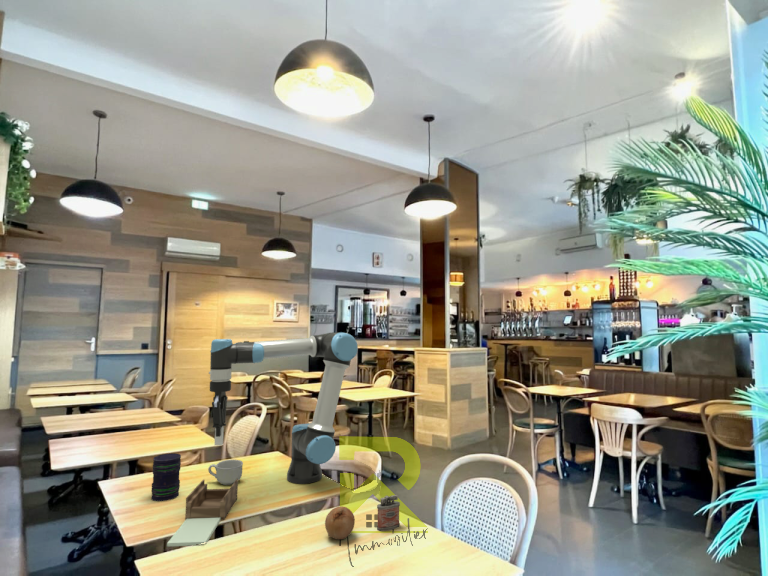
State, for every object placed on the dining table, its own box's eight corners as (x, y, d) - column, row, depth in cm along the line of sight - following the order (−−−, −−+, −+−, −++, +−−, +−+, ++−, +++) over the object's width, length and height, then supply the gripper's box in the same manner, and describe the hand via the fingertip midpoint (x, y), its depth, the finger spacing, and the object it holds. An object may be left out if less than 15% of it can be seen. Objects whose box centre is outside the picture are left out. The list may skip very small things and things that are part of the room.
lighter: (379, 532, 141) (379, 500, 142) (375, 527, 144) (375, 496, 145) (401, 527, 144) (401, 496, 145) (396, 523, 147) (397, 492, 148)
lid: (186, 523, 148) (186, 518, 148) (220, 522, 149) (220, 517, 149) (166, 548, 131) (167, 543, 131) (205, 546, 132) (205, 541, 132)
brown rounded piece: (341, 552, 134) (340, 529, 130) (319, 536, 139) (318, 513, 135) (360, 530, 141) (360, 507, 137) (339, 515, 146) (338, 493, 142)
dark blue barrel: (181, 490, 175) (183, 452, 177) (176, 500, 166) (178, 459, 167) (154, 492, 173) (156, 454, 174) (147, 502, 164) (149, 461, 165)
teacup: (246, 478, 190) (247, 459, 190) (235, 487, 179) (236, 467, 180) (215, 477, 191) (216, 458, 192) (203, 486, 180) (204, 466, 181)
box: (202, 500, 166) (203, 479, 167) (237, 499, 167) (237, 478, 168) (185, 521, 148) (186, 497, 149) (224, 519, 149) (225, 496, 150)
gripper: (215, 378, 170) (213, 440, 168) (205, 382, 157) (202, 450, 155) (234, 378, 171) (233, 439, 169) (226, 382, 158) (224, 449, 156)
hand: (218, 444), depth 162 cm, fingers closed
